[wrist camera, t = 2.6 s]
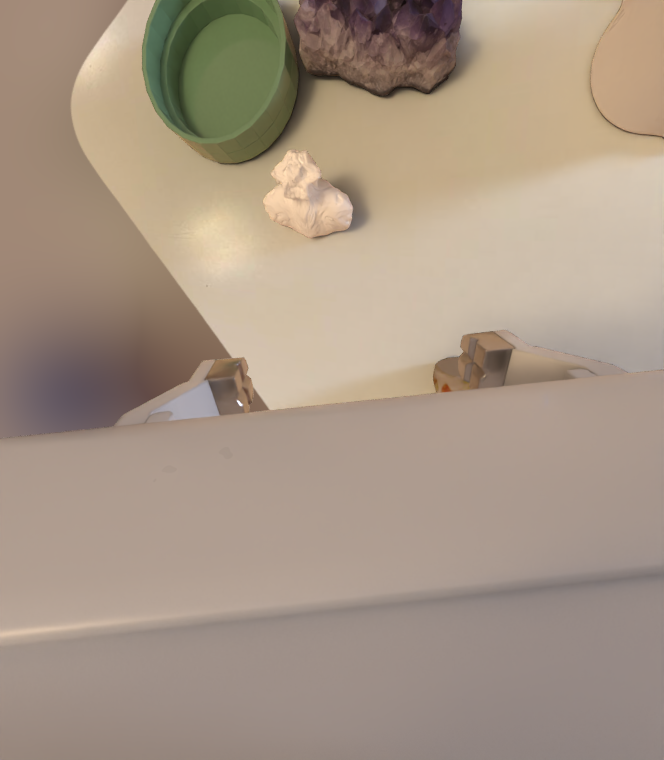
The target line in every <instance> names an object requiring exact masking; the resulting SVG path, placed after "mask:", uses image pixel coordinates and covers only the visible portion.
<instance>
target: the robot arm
mask: <svg viewBox="0 0 664 760" xmlns="http://www.w3.org/2000/svg"><path fill="white" fill-rule="evenodd" d="M590 80H591V90H592V95H593V98H594V101H595V103H596V105H597V107H598V109H599V110H600V112H601V113H602V115H603V116H604V117H605V118H606V119H607V120H608V121H609V122H611V123H612V124H614V125H615V126H617V127H619V128H621V129H623V130H625V131H629V132H632V133H637V134H649V135H658V136H662V137H664V0H623V1H622V5H621V7H620V9H619V11H618V13H617V14H616V16H615V17H614V19H613V20H612V21H611V23H610V24H609V26H608V27H607V29H606V30H605V32H604V34H603V35H602V37H601V39H600V41H599V43H598V46H597V48H596V51H595V54H594V57H593V61H592V66H591V76H590ZM460 347H461V348H462V350H463V351H464V352H463V353H462V354H461V355H460V356H459V359H458V370H459V374H460V376H461V378H462V379H463V380H464V381H466V382H468V383H469V388H470V389H471V390H462V391H452V392H442V393H433V394H423V395H413V396H404V397H394V398H384V399H375V400H365V401H355V402H346V403H336V404H326V405H317V406H307V407H297V408H287V409H278V410H268V411H258V412H249V411H250V408H249V404H251V403H252V400H253V384H252V380H251V378H250V377H249V376H247V375H246V374H247V371H248V365H247V362H246V359H245V358H244V357H243V358H231V359H219V360H216V359H215V360H207V361H202V362H201V364H200V365H199V367H198V368H197V370H196V371H195V373H194V374H193V376H192V377H191V379H190V380H189V382H184V383H182V384H180V385H178V386H176V387H175V388H173V389H171V390H169V391H167V392H165V393H163V394H161V395H160V396H158V397H156V398H154V399H152V400H150V401H148V402H146V403H144V404H143V405H141V406H139V407H137V408H135V409H133V410H131V411H129V412H128V413H126V414H124V415H123V416H122V417H121V418H120V419H119V420H118V421H117V422H116V424H115V425H114V426H113V427H104V428H95V429H85V430H76V431H66V432H56V433H47V434H37V435H29V436H28V435H27V436H18V437H9V438H0V760H664V370H655V371H645V372H635V373H628V372H626V371H624V370H622V369H620V368H619V367H617V366H615V365H613V364H609V363H604V362H600V361H596V360H592V359H587V358H583V357H579V356H575V355H571V354H566V353H562V352H558V351H554V350H549V349H545V348H541V347H537V346H535V347H531V346H530V345H528V344H527V343H525V342H524V341H522V340H521V339H520V338H518V337H517V336H515V335H514V334H512V333H511V332H509V331H508V330H500V331H494V332H493V331H490V332H482V333H474V334H467V335H464V336H463V338H462V340H461V346H460Z"/></svg>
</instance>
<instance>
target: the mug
mask: <svg viewBox="0 0 664 760" xmlns="http://www.w3.org/2000/svg"><path fill="white" fill-rule="evenodd" d="M458 359H459V358H458V357H453V358H446V359H443V360H441V361H439V362H438V363H436V365H435V369H434V375H433V379H434V385H435V389H436V392H437V393H442V392H452V391H462V390H471V389H470V388H469V383H468V382H466V381H464V380H463V379H462V378H461V376H460V374H459V370H458Z"/></svg>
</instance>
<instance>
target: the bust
mask: <svg viewBox="0 0 664 760" xmlns="http://www.w3.org/2000/svg"><path fill="white" fill-rule="evenodd" d="M271 175H272V177H274V178H275V179H276V183H277V184H279V183H280V182H281V183H282V184H279V185H277V186H276V187H275V188H274V189H272V190H271V191H270V192H268V193H267V195H266V196H265V198H264V200H263V204H264V206H265V210H266V212H267V213H269V215H270V218H271V219H272V220H273V221H275V222H277V223H279V224H281V225H283V226H287V227H291V228H292V229H294V230H295V231H297V232H299V233H301V234H303V235H305V236H306V237H308V238H312V237H317V236H321V235H322V236H323V235H328V234H330V233H332V232H335V231H344V230H346V229H347V228H348V227H349V226H350V224H351V220H352V212H353V206H352V204H351V203H350V200H349V197H348V195H347V194H346V193H342V192H341V191H340V190H339V189H338V188H334V187H333V186H332V185H331V184H330V183H329V182H328V181H326V180H323V179H322V178H321V170H320V169H319V167H318V166H317V165H316V162H315V161H314V160H313V158H312V157H311V156H310V155H309V153H308V151H306V150H304V151H301V152H300V151H297V150H289V151H288V152H287V153H286V155H285V157H284V159H283V160H282V161H281V162H279V163H278V164H277V165H276V166H275V167H274V170H273V171H271Z"/></svg>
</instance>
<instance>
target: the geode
mask: <svg viewBox="0 0 664 760" xmlns="http://www.w3.org/2000/svg"><path fill="white" fill-rule="evenodd" d="M299 4H300V8H299V10H298V12H297V14H296V16H295V19H294V23H295V26H296V29H297V31H298V33H299V35H300V46H299V53H300V57H301V59H302V61H303V64H304V67H305V69H306V71H307V72H308V73H311V74H314V75H316V76H323V75H330V76H340V77H341V78H342V79H344V80H345V81H347V82H348V83H350V84H351V85H354V84H355V85H357V86H359V87H361V88H364V89H366V90H368V91H369V92H371V93H373V94H375V95H378V96H385V95H387V94H389V93H390V92H392V91H393V90H394V88H395V87H414V88H416V89H418V90H420V91H422V92H424V93H428V94H429V93H430V92H432V91H433V90H434V89H435V88H436V87H438V86H439V85H440V84H442V83H443V82H444V81H446V80H447V79H448V75H449V74H450V73H451V72H452V71H453V69H454V67H455V65H456V48H457V45H458V42H459V40H460V34H459V28H460V24H461V20H462V10H461V9H462V0H300V1H299Z"/></svg>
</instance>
